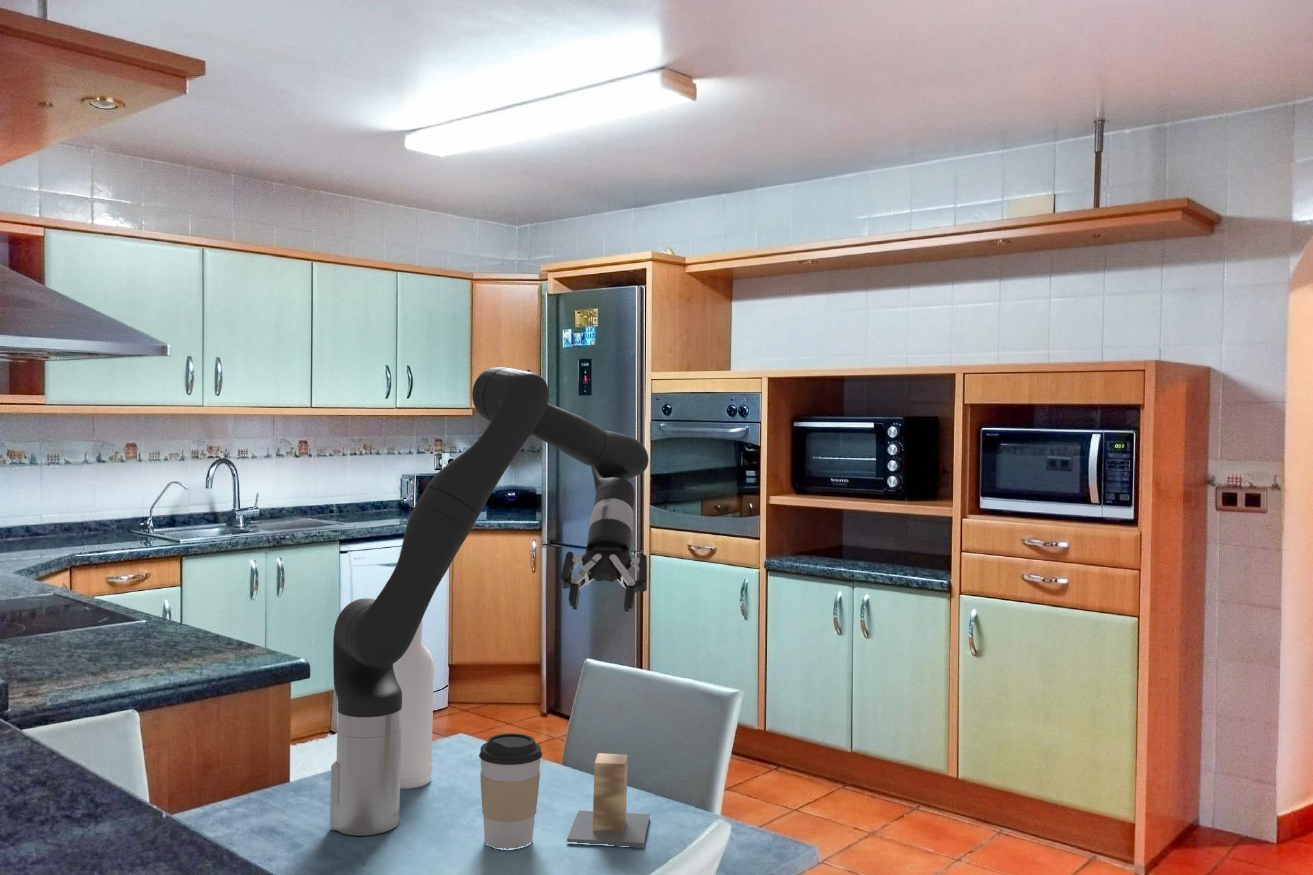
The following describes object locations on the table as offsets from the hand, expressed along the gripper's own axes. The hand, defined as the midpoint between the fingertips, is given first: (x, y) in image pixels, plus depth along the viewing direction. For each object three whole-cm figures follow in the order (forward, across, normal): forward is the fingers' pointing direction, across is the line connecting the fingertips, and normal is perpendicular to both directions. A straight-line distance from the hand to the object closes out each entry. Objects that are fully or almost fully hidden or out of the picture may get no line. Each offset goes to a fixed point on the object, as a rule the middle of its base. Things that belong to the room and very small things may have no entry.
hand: (600, 608), depth 166 cm
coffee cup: (+36, -10, +8) cm, 38 cm away
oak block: (+31, +4, +11) cm, 33 cm away
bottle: (+20, -32, +24) cm, 45 cm away
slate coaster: (+32, +4, +12) cm, 34 cm away
